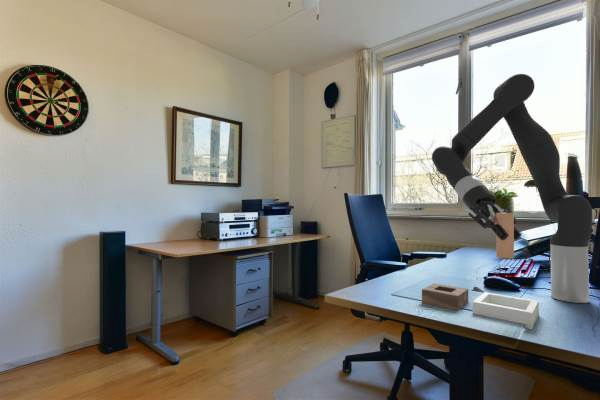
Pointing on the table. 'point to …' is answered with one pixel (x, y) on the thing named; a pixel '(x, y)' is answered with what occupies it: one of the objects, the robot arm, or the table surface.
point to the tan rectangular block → (507, 246)
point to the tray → (507, 308)
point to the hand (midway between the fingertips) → (511, 237)
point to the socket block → (445, 296)
